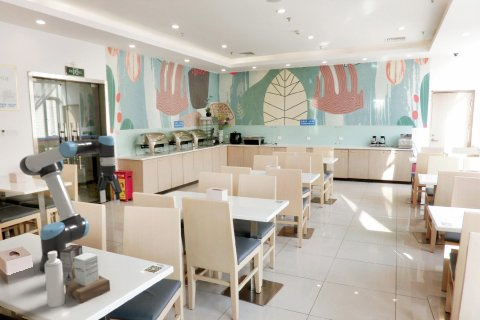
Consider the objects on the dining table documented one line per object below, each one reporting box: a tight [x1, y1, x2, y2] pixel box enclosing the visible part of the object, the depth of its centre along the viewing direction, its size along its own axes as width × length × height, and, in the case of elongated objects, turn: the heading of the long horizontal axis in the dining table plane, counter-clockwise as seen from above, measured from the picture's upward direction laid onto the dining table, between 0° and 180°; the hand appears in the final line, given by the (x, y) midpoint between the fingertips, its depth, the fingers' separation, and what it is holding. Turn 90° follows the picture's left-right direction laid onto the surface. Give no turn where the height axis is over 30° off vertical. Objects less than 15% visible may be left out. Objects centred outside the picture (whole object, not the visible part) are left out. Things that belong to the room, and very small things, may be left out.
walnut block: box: [64, 275, 111, 304], centre depth 160 cm, size 14×14×5 cm
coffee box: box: [60, 244, 84, 283], centre depth 174 cm, size 9×6×16 cm
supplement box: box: [74, 251, 100, 286], centre depth 159 cm, size 7×7×13 cm
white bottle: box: [44, 251, 66, 308], centre depth 149 cm, size 7×7×25 cm
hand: (110, 204), depth 185 cm, fingers open, 13 cm apart
